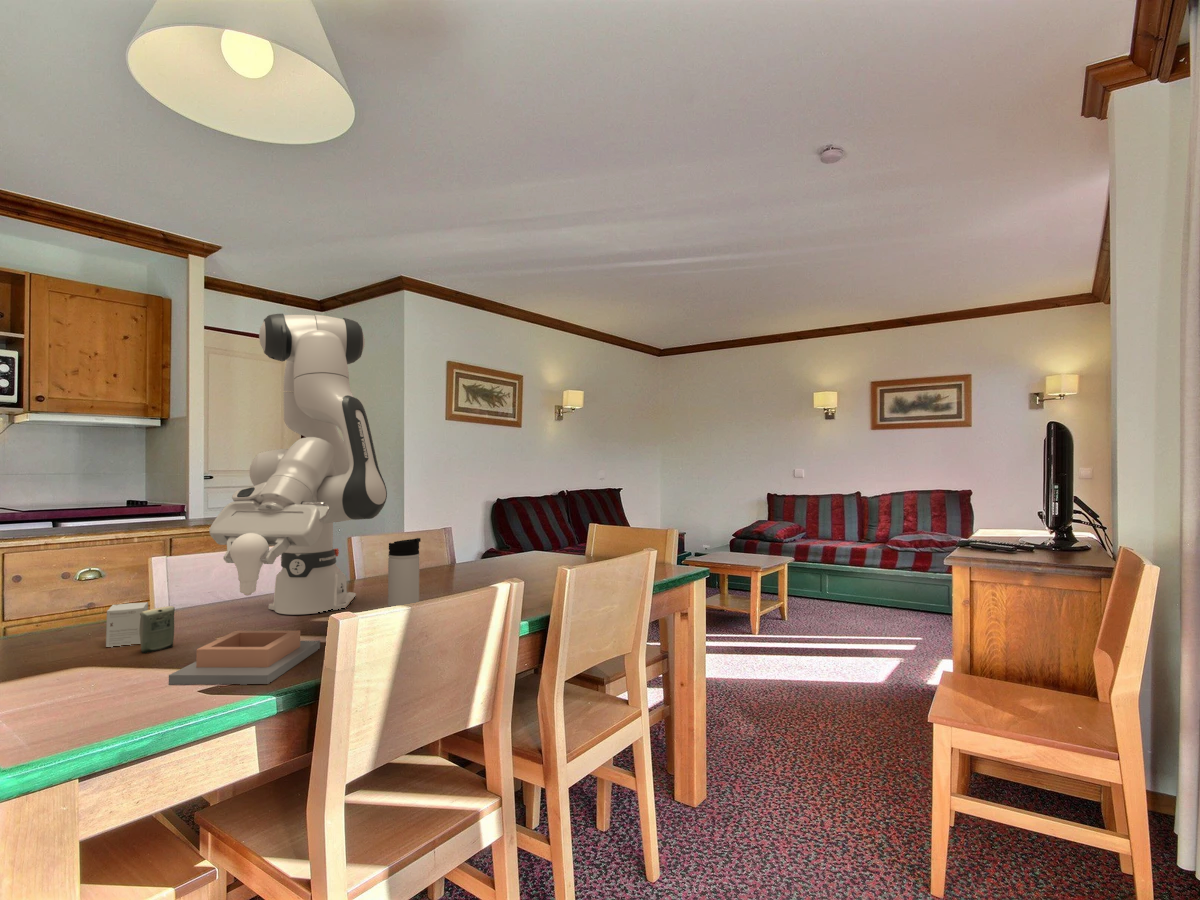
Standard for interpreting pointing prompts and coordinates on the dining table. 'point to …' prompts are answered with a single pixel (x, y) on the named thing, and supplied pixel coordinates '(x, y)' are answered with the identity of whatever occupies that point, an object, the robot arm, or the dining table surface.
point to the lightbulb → (248, 559)
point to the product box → (124, 624)
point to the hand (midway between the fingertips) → (247, 561)
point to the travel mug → (403, 572)
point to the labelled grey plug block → (156, 629)
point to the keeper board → (246, 658)
